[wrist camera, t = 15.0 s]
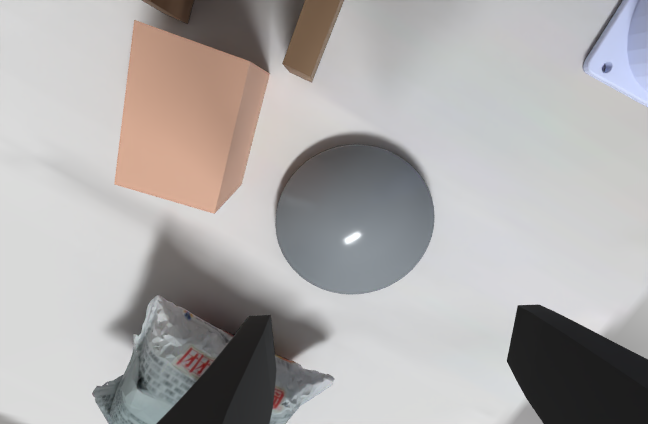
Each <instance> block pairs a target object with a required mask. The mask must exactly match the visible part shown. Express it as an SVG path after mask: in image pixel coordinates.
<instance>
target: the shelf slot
mask: <svg viewBox="0 0 648 424" xmlns="http://www.w3.org/2000/svg"><path fill="white" fill-rule="evenodd" d="M142 1H144V2H145V3H147V4H149V5H151V6H152V7H154V8H156V9H157V10H159V11H161V12H162V13H164V14H167V15H169V16H171V17H173V18H175V19H177V20H179V21H182V22H184V23H186V24H188V21H189V17H190V13H191V9H192V6H193V2H194V0H142ZM343 2H344V0H305V2H304V5H303V8H302V11H301V13H300V16H299V19H298V22H297V24H296V27H295V30H294V33H293V36H292V38H291V41H290V44H289V47H288V50H287V52H286V55H285V58H284V61H283V63H282V64H283V65H284V66H285V67H286V68H287V70H288V71H289V72H290V73H292V74H295V75H297V76H299V77H301V78H303V79H305V80H307V81H310V82H312V81H313V78H314V76H315V73H316V70H317V68H318V65H319V63H320V60H321V58H322V55H323V53H324V50H325V48H326V45H327V42H328V40H329V37H330V35H331V32H332V30H333V27H334V25H335V22H336V20H337V17H338V14H339V12H340V9H341V7H342V4H343Z"/></svg>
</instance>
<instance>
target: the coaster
mask: <svg viewBox="0 0 648 424" xmlns="http://www.w3.org/2000/svg"><path fill="white" fill-rule="evenodd" d="M433 228H434V206H433V202H432V197H431V195H430V192H429V189H428V187H427V185H426V184H425V182H424V180H423V178H422V177H421V176H420V175H419V173H418V172H417V171H416V170H415V169H414V168H413V167H412V166H411V165H410V164H409V163H408V162H406V161H405V160H403V159H402V158H401V157H399V156H397V155H396V154H394V153H392V152H390V151H388V150H385V149H382V148H379V147H375V146H370V145H361V144H353V145H343V146H338V147H334V148H331V149H328V150H325V151H323V152H321V153H319V154H317V155H315V156H314V157H312V158H311V159H309V160H308V161H306V162H305V163H304V164H303V165H302V166H300V167H299V168H298V169H297V171H296V172H295V173H294V174H293V175H292V176H291V178H290V179H289V181H288V182H287V184H286V186H285V188H284V190H283V192H282V194H281V197H280V200H279V203H278V207H277V212H276V235H277V239H278V243H279V246H280V248H281V251H282V253H283V255H284V257H285V258H286V260H287V262H288V263H289V264H290V266H291V267H292V268H293V269H294V270H295V271H296V272H297V273H298V274H299V275H300V276H301V277H302V278H304V279H305V280H306V281H308V282H309V283H311V284H313V285H315V286H317V287H319V288H321V289H324V290H327V291H330V292H334V293H340V294H363V293H369V292H373V291H377V290H380V289H383V288H385V287H387V286H390V285H391V284H393V283H395V282H397V281H398V280H400V279H401V278H403V277H404V276H405V275H406V274H408V273H409V272H410V271H411V270H412V269H413V268H414V267H415V266H416V264H417V263H418V262H419V261H420V259H421V258H422V256H423V255H424V253H425V251H426V249H427V247H428V245H429V242H430V240H431V237H432V233H433Z"/></svg>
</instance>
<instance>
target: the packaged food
mask: <svg viewBox="0 0 648 424" xmlns="http://www.w3.org/2000/svg"><path fill="white" fill-rule="evenodd" d="M232 338H233V335H232V334H230V333H228V332H226V331H223V330H221V329H219V328H217V327H215V326H213V325H211V324H210V323H208V322H206V321H204V320H202V319H201V318H199V317H197V316H195V315H194V314H192V313H191V312H189V311H188V310H186V309H184V308H182V307H179V306H175V305H174V303H173V302H170V301H167V300H166V299H165V298H163V297H162V296H159V295H157V296H155V297H154V298H153V299H152V300H151V301H150V303H149V304H148V307H147V311H146V319H145V321H144V323H143V325H142V332H141V334H140V335H139V336H138V335H136V334H133V342H134V347H133V353H132V357H131V360H130V362H129V365H128V367H127V369H126V371H125V373H124V375H122V376H120V377H118V378H117V379H115V380H113V381H109V382H106V383H105V384H104V385H103V386H97V387H96V388H95V390H94V391H93V393H92V395H93V396H94V397H95V401H96V403H97V405H98V407H99V408H100V410H101V412H102V413H103V415H104V417H105V418H106V420H107V422H108V423H109V424H156V423H157V422H158V421H159V420H160V419H161V418H162V417H163V416H164V415H165V414H166V413H167V412H168V411H169V410H170V409H171V408H172V407H173V406H174V405H175V404H176V403H177V402H178V401H179V400H180V399H181V397H182V396H183V395H184V394H185V393H186V392H187V391H188V390H189V389H190V388H191V387H192V385H193V384H194V383H195V382H196V381H197V380H198V379H199V378H200V377H201V375H202V374H203V373H204V372H205V371H206V370H207V368H208V367H209V366H210V365H211V364H212V362H213V361H214V360H215V359H216V358H217V356H218V355H219V354H220V353H221V352H222V350H223V349H224V348H225V346H226V345H227V344H228V343H229V341H230V340H231V339H232ZM136 351H137V352H136ZM275 360H276V370H277V371H276V382H275V392H274V401H273V409H272V414H271V419H270V424H286V423H287V421H288V420H289V419H290V418H291V416H292V415H293V414H294V413H295V411H296V410H297V409H298V408H299V406H300V405H302V404H304V403H305V402H307V401H309V400H310V399H312V398H313V397H315V396H316V395H319V394H320V393H321V392H323V391H324V390H325V389H327V388H329V387H330V386H331V385H332V384H333V381H334V378H333V377H332V376H331V375H329V374H327V375H326V374H323V373H319V372H317V371H314V370H307V369H303V368H302V367H301V365H299V364H298V363H296V362H294V361H289V360H287V359H285V358H283V357H280V356H277V355H275ZM107 383H108V385H106V384H107Z"/></svg>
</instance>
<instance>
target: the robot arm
mask: <svg viewBox="0 0 648 424" xmlns="http://www.w3.org/2000/svg"><path fill="white" fill-rule="evenodd" d="M603 64H605V67H606V68H605V71H604V72H602V66H603ZM583 68H584V71H585V72H586V73H587V74H588V75H590V76H592V77H594V78H595V79H597V80H599V81H601V82H603V83H605V84H606V85H608V86H610V87H612V88H614V89H615V90H617V91H619V92H621V93H623V94H625V95H626V96H628V97H630V98H632V99H634V100H635V101H637V102H639V103H641V104H643V105H645V106H646V107H648V0H623V1H622V3H621V4H620V6H619V7H618V9H617V11H616V12H615V14H614V15H613V17H612V18H611V20H610V22H609V23H608V25H607V26H606V28H605V30H604V31H603V33H602V34H601V36H600V37H599V39H598V41H597V42H596V44H595V45H594V47H593V48H592V50H591V52H590V53H589V55H588V56H587V58H586V60H585V62H584V66H583ZM507 362H508V364H509V366H510V368H511V370H512V372H513V374H514V376H515V378H516V380H517V382H518V384H519V386H520V387H521V389H522V391H523V393H524V395H525V396H526V398H527V400H528V401H529V403H530V404H531V406H532V407H533V409H534V410H535V411H536V413H537V414H538V416H539V417H540V419H541V420H542V422H543V423H544V424H648V359H646V358H644V357H642V356H640V355H638V354H636V353H634V352H632V351H630V350H628V349H626V348H624V347H622V346H620V345H618V344H616V343H614V342H612V341H611V340H609V339H607V338H605V337H603V336H601V335H599V334H597V333H595V332H593V331H591V330H589V329H588V328H586V327H584V326H582V325H580V324H578V323H576V322H574V321H572V320H570V319H568V318H566V317H564V316H562V315H560V314H558V313H556V312H554V311H552V310H550V309H548V308H545V307H543V306H541V305H518V307H517V312H516V317H515V323H514V328H513V333H512V338H511V343H510V348H509V353H508V358H507ZM276 371H277V370H276V360H275V351H274V342H273V332H272V323H271V315H264V316H249V317H248V318H247V319H246V321H245V322H244V323H243V324H242V326H241V327H240V328H239V330H238V331H237V332H236V334H235V335H234V336H233V338H232V339H231V340H230V341H229V343H228V344H227V345H226V346H225V348H224V349H223V350H222V352H221V353H220V354H219V355H218V356H217V358H216V359H215V360H214V361H213V362H212V364H211V365H210V366H209V367H208V368H207V370H206V371H205V372H204V373H203V374H202V375H201V377H200V378H199V379H198V380H197V381H196V382H195V383H194V384H193V385H192V387H191V388H190V389H189V390H188V391H187V392H186V393H185V394H184V395H183V396H182V397H181V399H180V400H179V401H178V402H177V403H176V404H175V405H174V406H173V407H172V408H171V409H170V410H169V411H168V412H167V413H166V414H165V415H164V416H163V417H162V418H161V419H160V420H159V421H158V422H157V423H156V424H270V419H271V414H272V409H273V401H274V392H275V382H276Z"/></svg>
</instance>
